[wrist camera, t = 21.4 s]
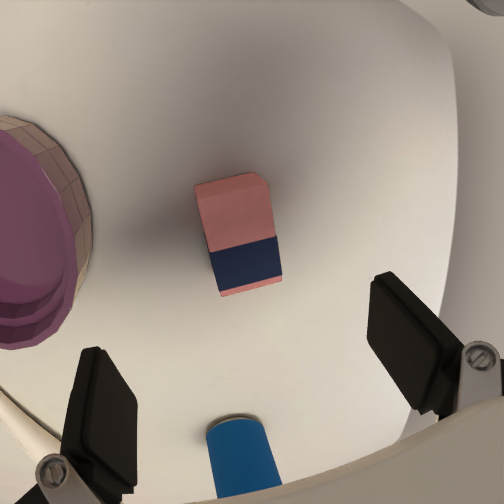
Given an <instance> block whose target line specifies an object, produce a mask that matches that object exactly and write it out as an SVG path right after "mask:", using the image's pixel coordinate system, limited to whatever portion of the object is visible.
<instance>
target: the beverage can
mask: <svg viewBox="0 0 504 504" xmlns="http://www.w3.org/2000/svg"><path fill="white" fill-rule="evenodd" d="M206 440H207V446H208V451H209V457H210V462H211V468H212V473H213V478H214V483H215V488H216V493H217V498H218V499H220V498H225V497H231V496H236V495H241V494H246V493H250V492H255V491H259V490H264V489H268V488H272V487H276V486H279V485H282V482H281V479H280V476H279V473H278V470H277V467H276V464H275V461H274V458H273V455H272V452H271V449H270V446H269V442H268V439H267V436H266V433H265V430H264V427H263V425H262V424H261V423H260V422H258V421H256V420H252V419H249V418H245V417H234V418H229V419H225V420H223V421H221V422H219V423H217V424H216V425H215V426H214V427H213V428H211V429H210V430H209V431H208V433H207V435H206Z"/></svg>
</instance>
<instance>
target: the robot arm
mask: <svg viewBox="0 0 504 504" xmlns="http://www.w3.org/2000/svg"><path fill="white" fill-rule="evenodd" d="M367 341H368V343H369V345H370V347H371V348H372V350H373V351H374V352H375V354H376V355H377V357H378V358H379V360H380V361H381V363H382V364H383V366H384V367H385V369H386V370H387V372H388V373H389V375H390V376H391V377H392V379H393V380H394V382H395V383H396V385H397V386H398V388H399V389H400V391H401V392H402V394H403V395H404V397H405V398H406V400H407V402H408V403H409V405H410V406H411V407H412V409H414V410H418V411H419V413H420V414H421V415H422V414H425V413H427V412H428V411H430V410H433V411H434V413H435V414H436V419H435V424H433V425H431V426H429V427H428V428H426V429H424V430H422V431H420V432H418V433H416V434H414V435H412V436H410V437H408V438H405V439H403V440H401V441H399V442H397V443H395V444H393V445H391V446H388V447H386V448H384V449H382V450H380V451H377V452H375V453H373V454H370V455H368V456H365V457H363V458H361V459H358V460H355V461H353V462H350V463H348V464H345V465H342V466H340V467H337V468H334V469H331V470H328V471H326V472H323V473H320V474H317V475H314V476H310V477H307V478H304V479H301V480H297V481H294V482H290V483H287V484H283V485H279V486H276V487H272V488H268V489H264V490H259V491H255V492H250V493H246V494H241V495H236V496H231V497H225V498H220V499H214V500H207V501H201V502H193V503H185V504H504V359H500V356H499V353H498V351H497V350H496V348H494V347H493V346H492V345H491V344H489V343H487V342H483V341H474V342H470V343H468V344H467V345H465V346H464V345H463V344H462V343H461V342H460V341H459V340H458V338H457V337H456V336H455V335H454V334H453V333H452V332H451V331H450V330H449V329H448V328H447V327H446V326H445V325H444V324H443V322H442V321H441V320H440V319H439V318H438V317H437V316H436V315H435V314H434V313H433V312H432V311H431V310H430V309H429V308H428V307H427V306H426V305H425V304H424V303H423V302H422V301H421V300H420V299H419V298H418V297H417V296H416V295H415V294H414V293H413V292H412V291H411V290H410V289H409V288H408V287H407V286H406V285H405V284H404V283H403V282H402V281H401V280H400V279H399V278H398V277H397V276H396V275H395V274H394V273H392V272H391V271H388V272H385V273H382V274H379V275H376V276H375V278H374V281H372V282H371V285H370V302H369V315H368V327H367ZM137 410H138V404H137V399H136V397H135V395H134V394H133V392H132V391H131V389H130V388H129V386H128V385H127V383H126V382H125V380H124V379H123V377H122V376H121V374H120V373H119V371H118V370H117V368H116V366H115V365H114V363H113V362H112V360H111V358H110V357H109V355H108V353H107V352H106V350H101V348H100V347H98V346H96V347H91V348H85V349H83V350H82V352H81V356H80V360H79V364H78V368H77V372H76V376H75V380H74V385H73V389H72V391H71V394H70V398H69V403H68V408H67V413H66V418H65V424H64V429H63V435H62V441H61V447H60V454H57V453H52V454H48V455H47V456H45V457H43V458H42V459H41V460H40V461H39V463H38V465H37V467H36V472H35V475H36V481H37V484H36V485H35V486H34V487H33V488H31V489H30V490H29V491H28V492H27V493H26V494H25V495H24V496H23V497H21V498H20V499H19V500H18V501H17V502H16V503H15V504H124V503H123V502H122V494H134V486H136V485H137Z"/></svg>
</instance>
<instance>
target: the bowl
mask: <svg viewBox="0 0 504 504" xmlns="http://www.w3.org/2000/svg"><path fill="white" fill-rule="evenodd" d="M91 250H92V234H91V212H90V209H89V206H88V203H87V200H86V197H85V194H84V191H83V188H82V184H81V181H80V178H79V175H78V174H77V172H76V171H75V169H74V168H73V166H72V165H71V163H70V162H69V160H68V159H67V157H66V156H65V154H64V152H63V151H62V149H61V148H60V146H59V145H58V144H57V143H56V142H54V141H53V140H52V139H51V138H49V137H48V136H47V135H46V134H44V133H43V132H42V131H41V130H40V129H38V128H37V127H36V126H35V125H33V124H31V123H28V122H25V121H21V120H18V119H15V118H12V117H9V116H5V115H3V116H0V348H1V349H7V350H16V349H22V348H27V347H32V346H36V345H38V344H39V343H41V342H42V341H44V340H45V339H47V338H48V337H50V336H52V335H53V334H55V333H56V332H57V331H58V330H59V328H60V326H61V325H62V323H63V322H64V320H65V318H66V317H67V315H68V314H69V312H70V311H71V309H72V307H73V304H74V301H75V299H76V296H77V294H78V291H79V289H80V287H81V284H82V282H83V279H84V277H85V274H86V269H87V265H88V261H89V257H90V253H91Z"/></svg>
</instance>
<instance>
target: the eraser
mask: <svg viewBox="0 0 504 504" xmlns="http://www.w3.org/2000/svg"><path fill="white" fill-rule="evenodd" d="M194 190H195V194H196V199H197V203H198V207H199V212H200V216H201V220H202V224H203V228H204V234H205V238H206V243H207V247H208V251H209V255H210V259H211V263H212V267H213V271H214V275H215V278H216V282H217V286H218V290H219V292H220V294H221V296H222V297H224V296H227V295H231V294H235V293H239V292H243V291H246V290H250V289H254V288H258V287H261V286H265V285H269V284H273V283H276V282H280V281H282V276H281V275H282V269H281V262H280V255H279V248H278V241H277V236H276V234H275V228H274V221H273V214H272V208H271V201H270V195H269V188H268V184H267V183H266V182H265V181H264V180H263V179H262V178H261V177H260V176H258V175H257V174H256V173H255V172H252V173H247V174H242V175H238V176H233V177H229V178H225V179H220V180H216V181H212V182H208V183H204V184H199V185H195V186H194Z"/></svg>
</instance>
